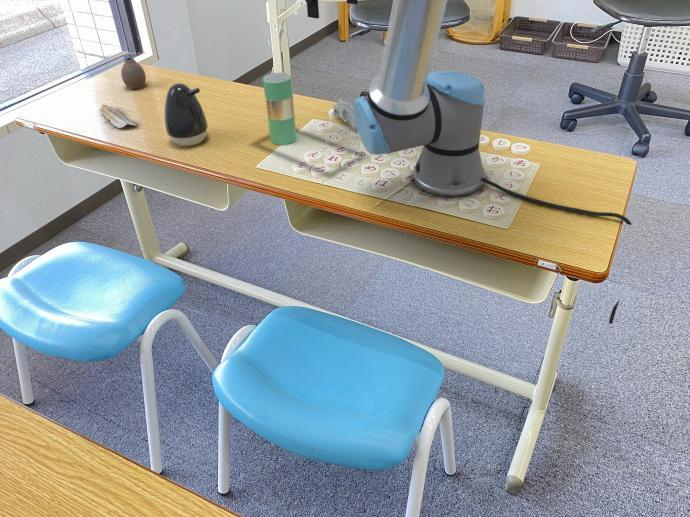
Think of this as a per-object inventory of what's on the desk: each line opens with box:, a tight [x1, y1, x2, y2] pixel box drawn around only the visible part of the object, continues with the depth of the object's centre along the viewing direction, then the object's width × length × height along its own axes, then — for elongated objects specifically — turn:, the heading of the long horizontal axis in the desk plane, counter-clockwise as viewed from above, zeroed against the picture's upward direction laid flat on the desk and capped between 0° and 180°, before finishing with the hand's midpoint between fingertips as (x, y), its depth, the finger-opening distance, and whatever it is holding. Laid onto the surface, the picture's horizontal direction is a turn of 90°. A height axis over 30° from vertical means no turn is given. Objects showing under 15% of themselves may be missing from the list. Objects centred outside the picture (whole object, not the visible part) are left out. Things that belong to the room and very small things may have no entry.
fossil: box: [98, 104, 137, 129], centre depth 163 cm, size 18×3×4 cm
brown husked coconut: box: [120, 57, 147, 90], centre depth 179 cm, size 7×7×9 cm
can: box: [262, 72, 298, 146], centre depth 143 cm, size 16×7×7 cm
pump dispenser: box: [164, 82, 209, 147], centre depth 145 cm, size 10×10×15 cm
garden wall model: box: [332, 98, 357, 129], centre depth 154 cm, size 12×2×6 cm, turn 28°
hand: (333, 10), depth 133 cm, fingers open, 13 cm apart
